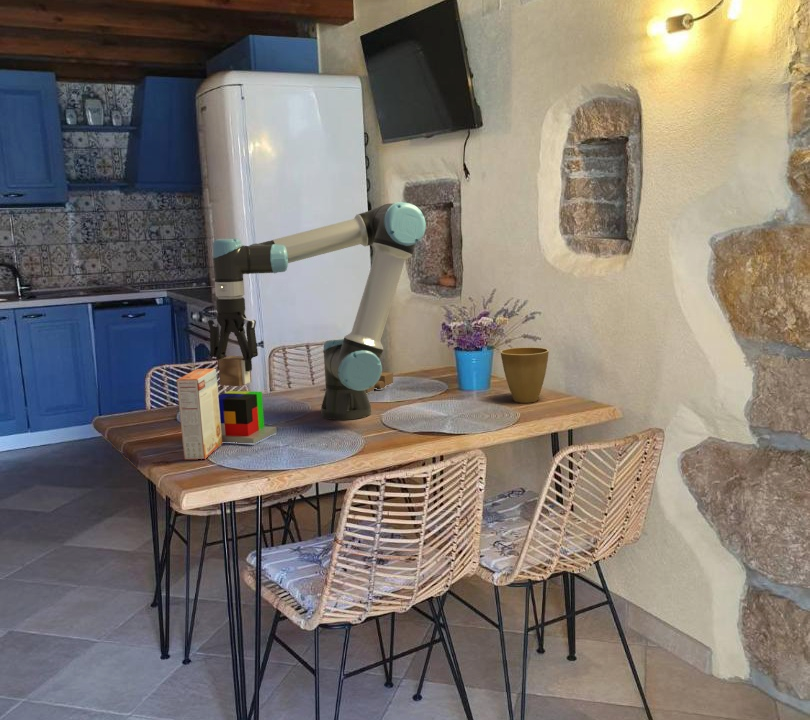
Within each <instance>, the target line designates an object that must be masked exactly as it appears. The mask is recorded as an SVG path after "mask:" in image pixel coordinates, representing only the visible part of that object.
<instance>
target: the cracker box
mask: <svg viewBox="0 0 810 720" xmlns="http://www.w3.org/2000/svg"><path fill="white" fill-rule="evenodd" d="M176 388H177V398H178V399H177V400H178V406H179V408H178V409H179V418H180V419H179V420H180V427H181V438H182V447H183V459H184V461H195V460H196V461H197V460H198V459H201V461H203V460H202V459H205V460H207V459H208V458H209V457H208V455H210V454H211V453H212V452H213V451H214V450H215V449H216V448H218V447H219V446H220V445H221V444H222V445H223V443H222V432H221V421H220V409H219V398H218V396H219V388H218V378H217V369H216V368H195V369H194V370H192V371H190V372H188V373H187V374H185V375H183V376H181V377H180V378H177V379H176ZM222 445H221V446H222ZM221 446H220V447H221ZM220 447H219V448H220ZM219 448H218V449H219ZM215 451H216V450H215ZM215 451H214V452H215ZM214 452H213V453H214ZM213 453H212V454H213ZM212 454H211V455H212ZM211 455H210V456H211ZM207 457H208V458H207ZM206 458H207V459H206ZM198 461H199V460H198Z"/></svg>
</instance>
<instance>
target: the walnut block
mask: <svg viewBox="0 0 810 720" xmlns="http://www.w3.org/2000/svg"><path fill="white" fill-rule="evenodd" d="M242 359H243V355H242V356H239V355H230V356H226V357H224V358H222V359H219V360H217V362H218V361H219V369H218V371H219V386H226V387H228V386H229V387H241V386H244V385H245V384H243V381H242V366H241V360H242ZM250 383H252V371H250Z"/></svg>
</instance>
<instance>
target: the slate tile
mask: <svg viewBox="0 0 810 720" xmlns="http://www.w3.org/2000/svg"><path fill="white" fill-rule="evenodd" d="M277 429H278V428H277V426H265V425H264V427H263V428H262V429H260V430H258V431H256V432H255V433H253V434H251V435H250V436H226V435H222V442H235V443H236V442H237V443H256V442H258V441H260V440H262V439H264V438H266V437H268V436H270V435H272V434H274V433H277V434H278V430H277Z"/></svg>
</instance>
